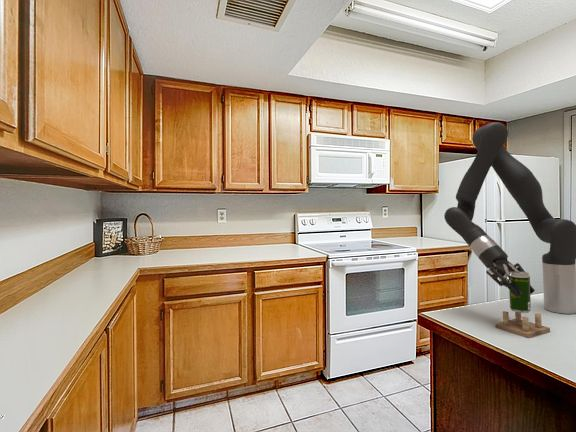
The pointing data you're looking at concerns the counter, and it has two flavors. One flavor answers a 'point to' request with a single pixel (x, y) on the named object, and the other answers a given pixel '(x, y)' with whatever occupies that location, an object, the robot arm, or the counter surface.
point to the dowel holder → (523, 325)
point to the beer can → (523, 283)
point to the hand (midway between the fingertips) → (525, 293)
